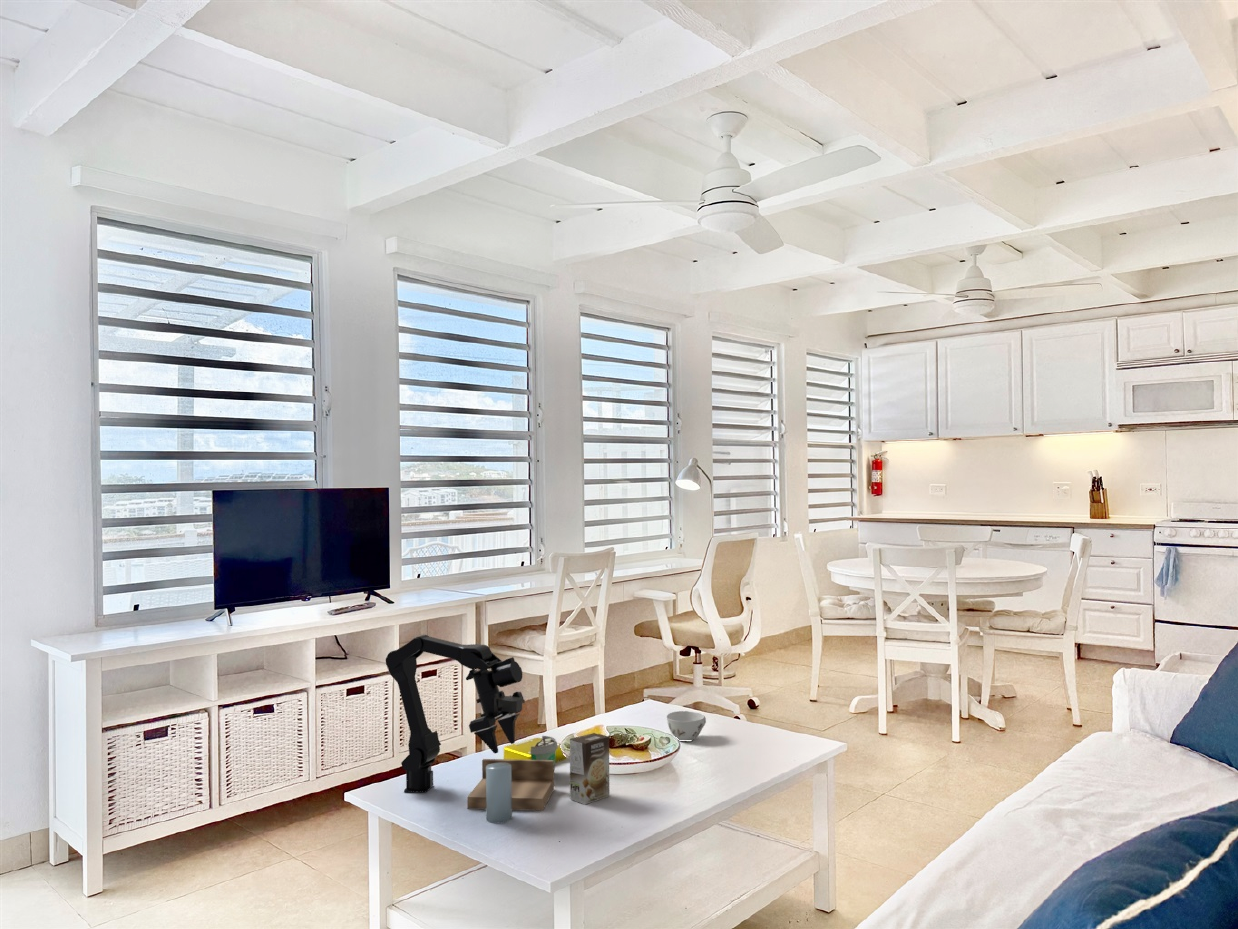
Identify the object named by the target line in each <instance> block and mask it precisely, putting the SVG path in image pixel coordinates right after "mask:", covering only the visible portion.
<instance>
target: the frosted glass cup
mask: <svg viewBox="0 0 1238 929" xmlns="http://www.w3.org/2000/svg"><path fill="white" fill-rule="evenodd" d="M485 811H486V812H485V813H486V814H485V816H486V822H488V823H492V824H503V823H507V822H509V821H511V820H513V810H512V783H511V764H509V763H503V762H498V763H492V764H489V765H487V766H486V809H485Z"/></svg>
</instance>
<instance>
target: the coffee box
mask: <svg viewBox="0 0 1238 929" xmlns="http://www.w3.org/2000/svg"><path fill="white" fill-rule="evenodd" d="M608 797H610V736H608V735H605V734H601V733H597V732H596V733H595V732H592V733H588V734H584V735H579V736H575V737H572V738H569V799H570V800H571V801H574V802H577V803H580V804H583V805H587V804H590V803H594V802H596V801H599V800H602V799H605V798H608Z"/></svg>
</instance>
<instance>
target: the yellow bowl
mask: <svg viewBox="0 0 1238 929" xmlns="http://www.w3.org/2000/svg"><path fill="white" fill-rule="evenodd" d="M541 740H542V737H534V738H530V739H527V740H522V741H520V742H516V743H513V744H509V745H505V746H504V747H503V759H516V760H531V747H535V746H536V744H537V743H538V742H540V741H541ZM561 744H562V743H560V742H557V745H558V749H557V750H556V752H555V764H556V763H559V762H562V761H564V760H567V756H566V757H565V756H564V755H563V753H562V751H561V748H560V745H561Z"/></svg>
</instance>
